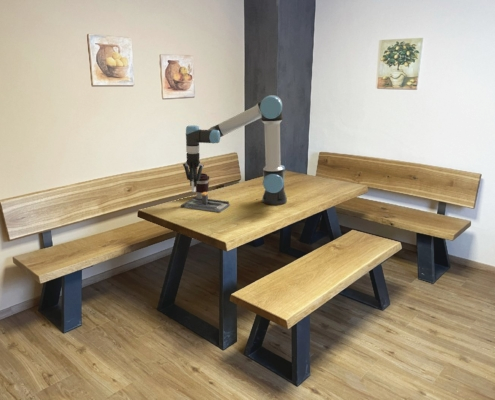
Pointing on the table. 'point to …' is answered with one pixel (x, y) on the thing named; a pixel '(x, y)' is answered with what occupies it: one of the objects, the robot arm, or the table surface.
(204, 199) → the lever
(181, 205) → the grey panel edge rail
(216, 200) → the long dark grey rail
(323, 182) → the table surface
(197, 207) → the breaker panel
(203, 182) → the coffee cup
